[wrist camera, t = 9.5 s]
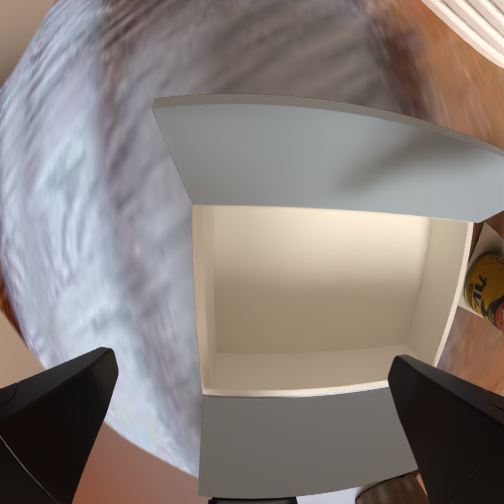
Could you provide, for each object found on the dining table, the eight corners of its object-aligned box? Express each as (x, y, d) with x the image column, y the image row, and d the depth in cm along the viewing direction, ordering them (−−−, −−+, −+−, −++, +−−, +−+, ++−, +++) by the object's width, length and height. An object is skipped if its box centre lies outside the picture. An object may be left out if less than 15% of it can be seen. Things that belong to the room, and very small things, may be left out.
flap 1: (193, 204, 13) (193, 197, 13) (478, 222, 14) (477, 217, 14) (151, 108, 6) (154, 98, 6) (553, 182, 7) (550, 175, 7)
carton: (407, 345, 22) (432, 375, 17) (210, 353, 22) (202, 394, 17) (435, 205, 19) (474, 214, 14) (206, 190, 19) (191, 194, 14)
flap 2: (436, 376, 17) (433, 378, 17) (203, 396, 16) (204, 398, 17) (452, 454, 12) (449, 455, 12) (198, 495, 11) (199, 495, 12)
